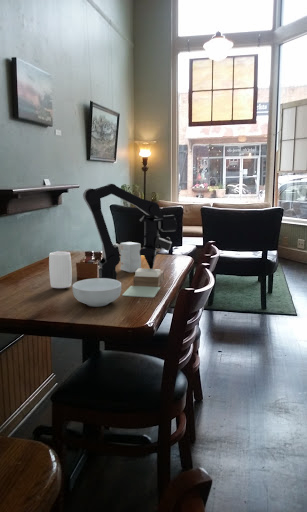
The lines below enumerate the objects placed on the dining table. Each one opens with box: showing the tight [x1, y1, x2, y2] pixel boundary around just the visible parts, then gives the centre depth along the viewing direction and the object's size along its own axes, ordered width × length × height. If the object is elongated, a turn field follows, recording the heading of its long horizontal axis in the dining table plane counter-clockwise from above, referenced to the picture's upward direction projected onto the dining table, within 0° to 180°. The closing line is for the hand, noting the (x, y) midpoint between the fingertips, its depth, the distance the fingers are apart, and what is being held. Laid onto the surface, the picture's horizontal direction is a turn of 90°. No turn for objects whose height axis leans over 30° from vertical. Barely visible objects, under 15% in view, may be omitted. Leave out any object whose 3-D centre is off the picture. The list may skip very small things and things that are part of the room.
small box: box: [119, 241, 142, 273], centre depth 198 cm, size 8×6×13 cm
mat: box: [121, 285, 162, 298], centre depth 162 cm, size 14×12×1 cm
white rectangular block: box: [134, 267, 161, 277], centre depth 172 cm, size 6×9×2 cm, turn 79°
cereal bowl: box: [71, 277, 122, 308], centre depth 147 cm, size 17×17×7 cm
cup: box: [48, 250, 73, 289], centre depth 166 cm, size 8×8×14 cm
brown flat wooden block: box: [133, 269, 165, 287], centre depth 175 cm, size 14×10×4 cm
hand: (151, 268), depth 179 cm, fingers closed
